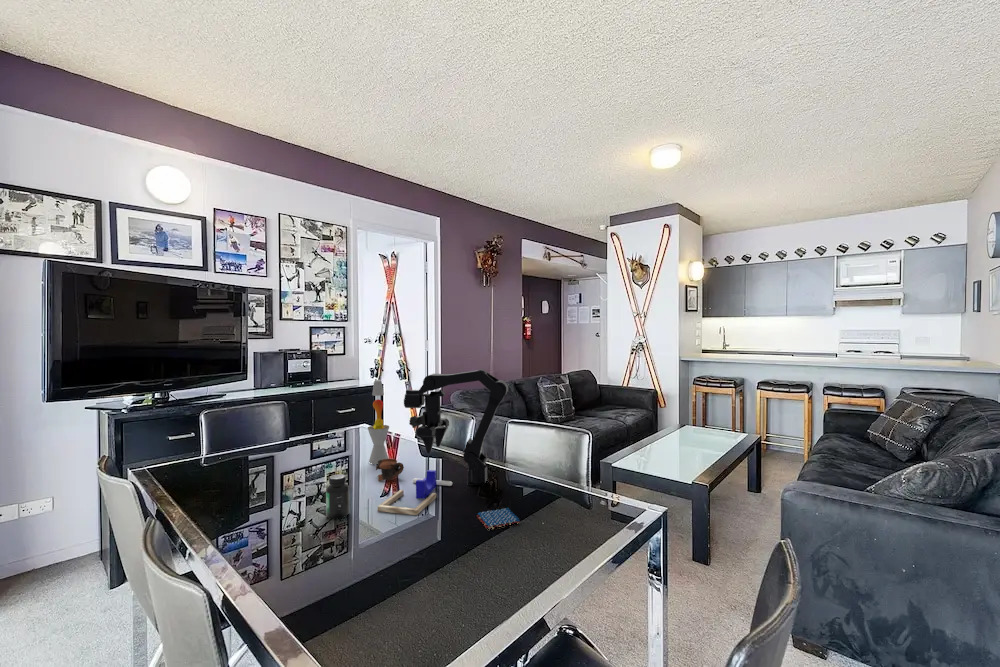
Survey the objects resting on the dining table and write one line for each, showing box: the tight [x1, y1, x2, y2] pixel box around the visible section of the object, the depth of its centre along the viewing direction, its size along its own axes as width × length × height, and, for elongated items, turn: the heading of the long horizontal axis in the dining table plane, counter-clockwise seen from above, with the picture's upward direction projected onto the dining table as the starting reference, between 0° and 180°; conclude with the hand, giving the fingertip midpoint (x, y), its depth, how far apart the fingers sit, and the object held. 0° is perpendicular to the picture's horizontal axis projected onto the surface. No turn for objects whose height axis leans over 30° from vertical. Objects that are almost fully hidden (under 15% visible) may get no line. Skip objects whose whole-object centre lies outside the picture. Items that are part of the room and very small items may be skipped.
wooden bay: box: [377, 489, 437, 516], centre depth 153 cm, size 13×15×2 cm
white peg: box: [412, 478, 453, 487], centre depth 172 cm, size 16×2×2 cm, turn 74°
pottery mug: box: [375, 458, 405, 482], centre depth 180 cm, size 12×10×8 cm
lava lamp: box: [367, 379, 390, 465], centre depth 201 cm, size 9×9×35 cm
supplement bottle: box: [325, 473, 351, 520], centre depth 144 cm, size 7×7×12 cm
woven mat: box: [476, 507, 521, 530], centre depth 139 cm, size 10×11×2 cm
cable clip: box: [415, 469, 437, 500], centre depth 164 cm, size 12×4×6 cm, turn 169°
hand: (433, 449), depth 174 cm, fingers open, 9 cm apart
